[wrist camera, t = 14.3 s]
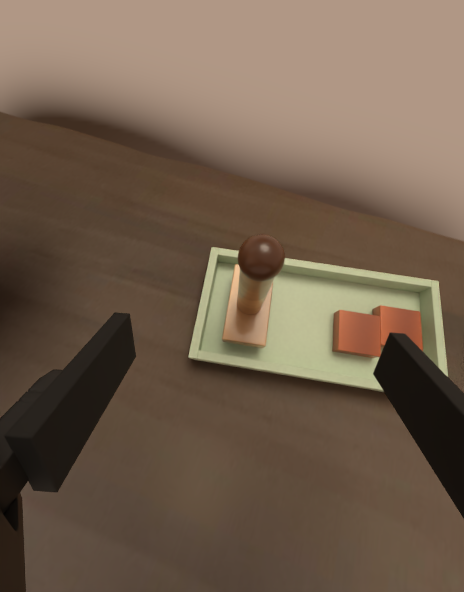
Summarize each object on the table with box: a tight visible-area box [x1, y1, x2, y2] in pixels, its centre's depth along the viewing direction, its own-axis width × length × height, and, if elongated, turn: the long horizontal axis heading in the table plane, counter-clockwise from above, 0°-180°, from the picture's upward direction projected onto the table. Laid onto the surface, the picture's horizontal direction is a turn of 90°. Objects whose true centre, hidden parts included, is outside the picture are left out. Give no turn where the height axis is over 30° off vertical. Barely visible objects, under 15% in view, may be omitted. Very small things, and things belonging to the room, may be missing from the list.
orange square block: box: [372, 305, 423, 351], centre depth 25 cm, size 4×4×2 cm
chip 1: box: [332, 310, 381, 358], centre depth 25 cm, size 4×4×2 cm
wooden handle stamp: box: [222, 234, 285, 348], centre depth 20 cm, size 4×8×13 cm, turn 171°
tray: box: [188, 247, 448, 392], centre depth 26 cm, size 24×12×2 cm, turn 81°
